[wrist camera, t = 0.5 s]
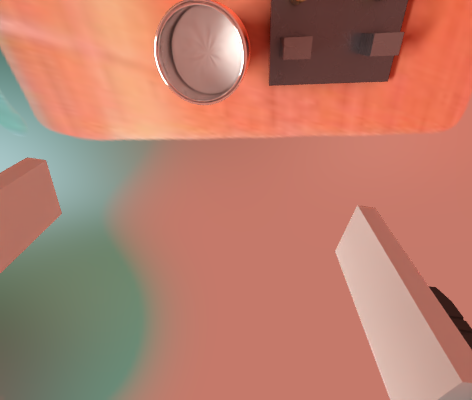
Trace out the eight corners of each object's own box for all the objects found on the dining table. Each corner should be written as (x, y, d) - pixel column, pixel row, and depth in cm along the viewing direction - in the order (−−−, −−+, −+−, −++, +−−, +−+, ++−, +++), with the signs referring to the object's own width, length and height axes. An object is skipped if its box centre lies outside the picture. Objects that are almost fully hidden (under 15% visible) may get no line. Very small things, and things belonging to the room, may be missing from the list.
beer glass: (256, 16, 29) (259, 5, 16) (245, 83, 33) (240, 115, 20) (194, 4, 29) (149, -17, 16) (190, 73, 32) (151, 99, 20)
